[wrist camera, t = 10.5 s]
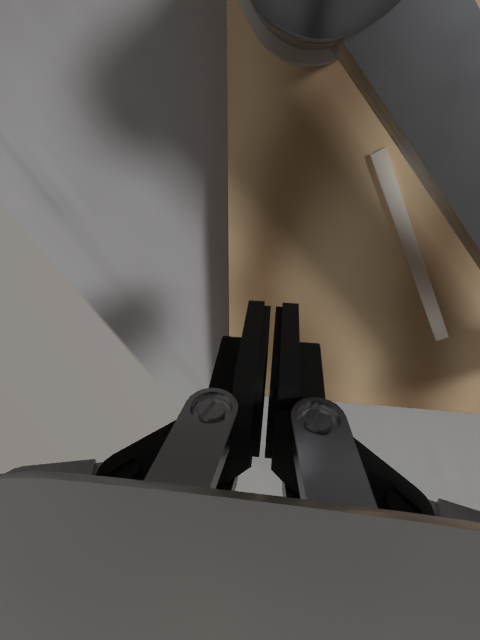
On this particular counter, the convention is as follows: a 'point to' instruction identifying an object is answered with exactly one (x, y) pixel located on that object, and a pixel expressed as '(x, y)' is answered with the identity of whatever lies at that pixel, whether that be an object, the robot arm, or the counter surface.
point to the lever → (408, 84)
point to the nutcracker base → (342, 231)
